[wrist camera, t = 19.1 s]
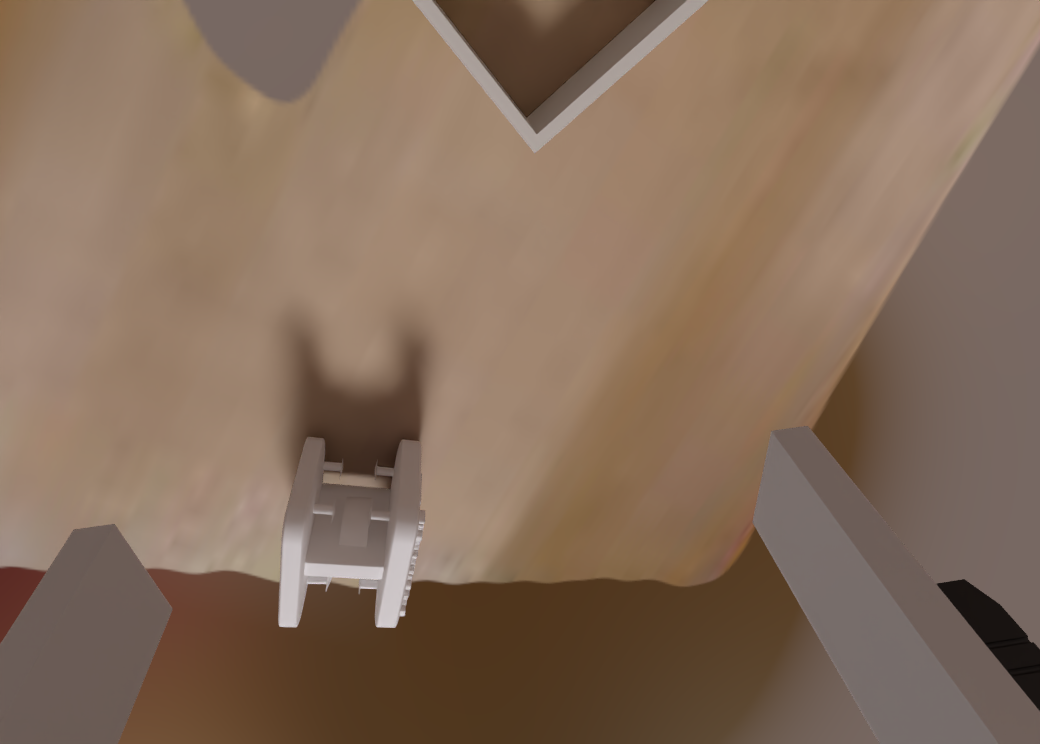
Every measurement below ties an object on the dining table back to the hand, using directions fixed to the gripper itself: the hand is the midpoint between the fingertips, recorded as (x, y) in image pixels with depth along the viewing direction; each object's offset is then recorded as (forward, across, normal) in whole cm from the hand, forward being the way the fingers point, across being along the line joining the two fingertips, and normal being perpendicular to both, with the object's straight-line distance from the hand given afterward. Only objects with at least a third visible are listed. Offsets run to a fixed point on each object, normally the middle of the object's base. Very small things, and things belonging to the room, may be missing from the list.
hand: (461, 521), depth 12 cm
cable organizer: (+35, -13, -31) cm, 48 cm away
